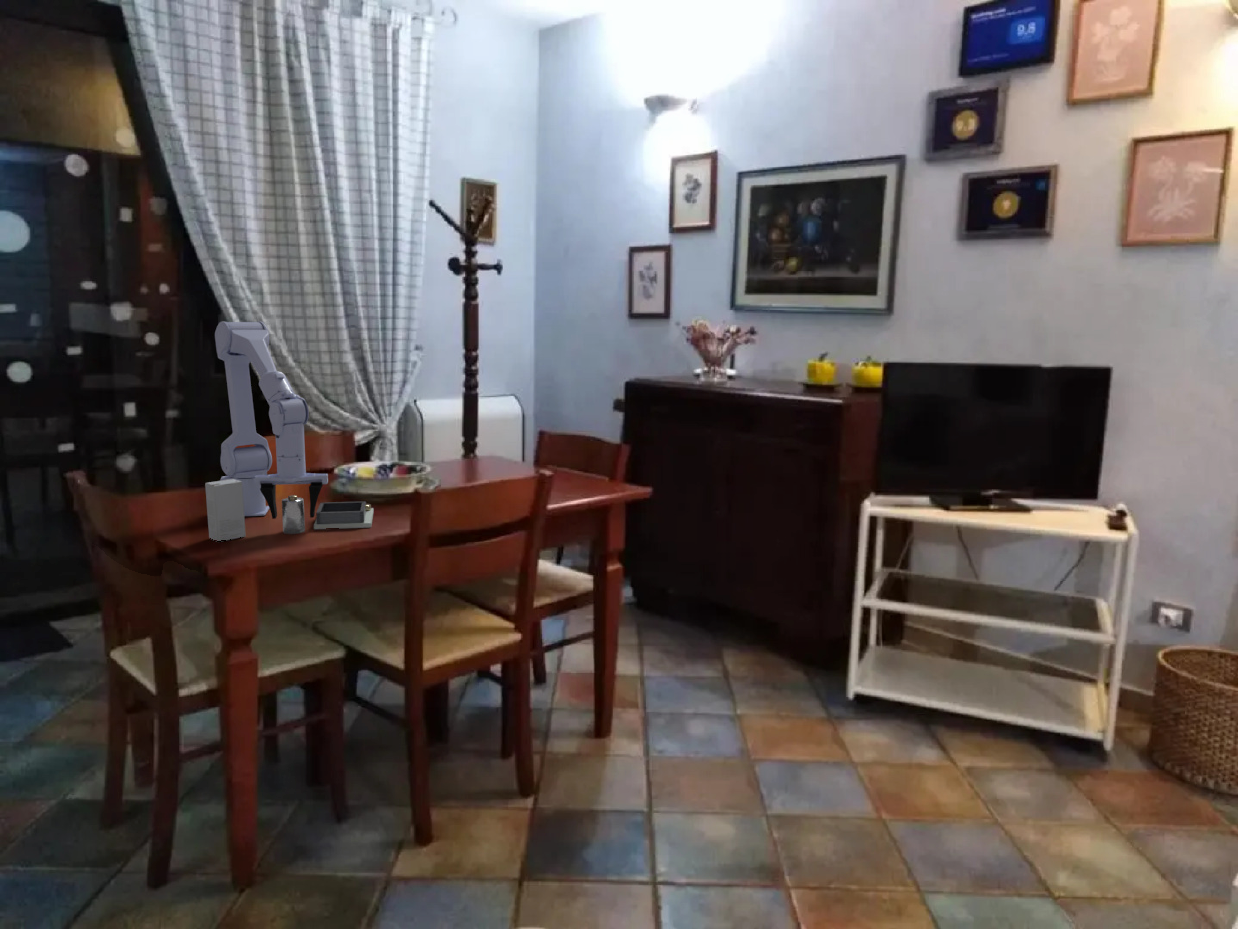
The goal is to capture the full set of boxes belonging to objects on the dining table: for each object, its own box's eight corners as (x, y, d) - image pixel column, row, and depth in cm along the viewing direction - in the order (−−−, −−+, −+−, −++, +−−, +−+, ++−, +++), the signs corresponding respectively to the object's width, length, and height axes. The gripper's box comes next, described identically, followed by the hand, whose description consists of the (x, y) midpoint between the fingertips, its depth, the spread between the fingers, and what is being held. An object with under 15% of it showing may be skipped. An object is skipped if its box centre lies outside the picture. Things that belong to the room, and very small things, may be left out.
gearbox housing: (314, 529, 189) (313, 513, 188) (320, 513, 202) (319, 499, 201) (371, 527, 191) (370, 512, 191) (373, 512, 205) (373, 497, 204)
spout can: (281, 534, 184) (280, 498, 183) (285, 527, 190) (284, 492, 188) (303, 533, 185) (302, 498, 184) (306, 526, 191) (305, 491, 189)
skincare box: (236, 533, 184) (233, 477, 181) (246, 537, 181) (243, 481, 179) (207, 539, 179) (203, 481, 177) (217, 543, 176) (214, 485, 174)
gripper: (250, 459, 178) (254, 522, 180) (324, 457, 181) (327, 520, 184) (256, 453, 185) (260, 514, 187) (327, 452, 188) (330, 512, 191)
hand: (293, 517), depth 186 cm, fingers open, 7 cm apart
